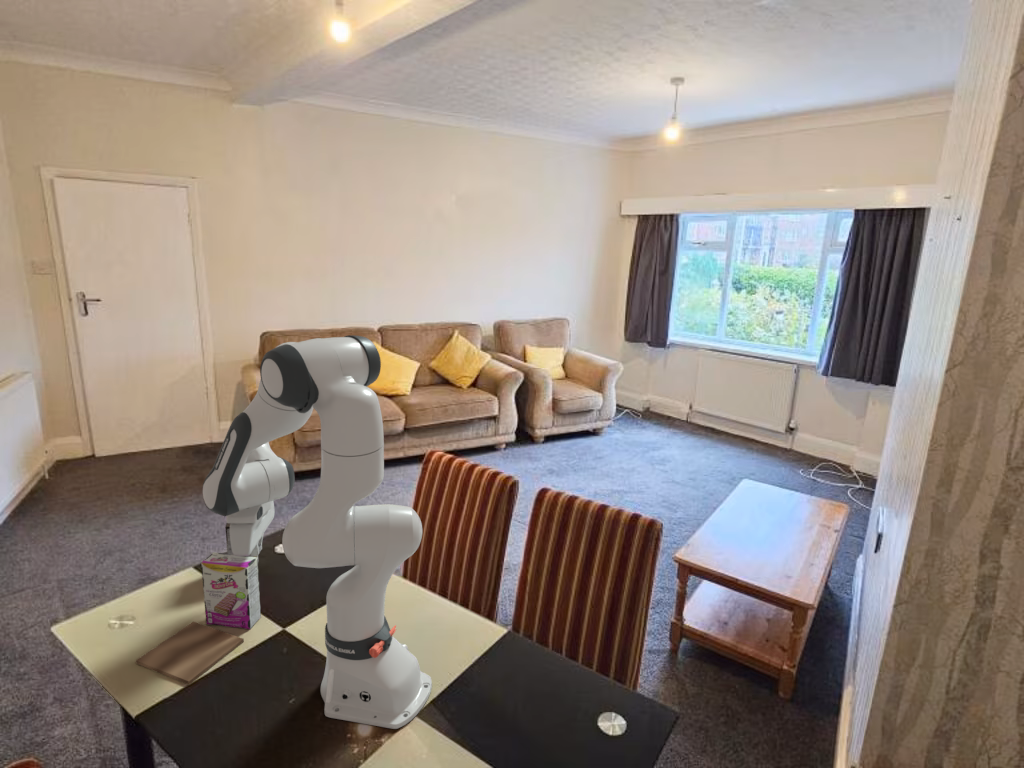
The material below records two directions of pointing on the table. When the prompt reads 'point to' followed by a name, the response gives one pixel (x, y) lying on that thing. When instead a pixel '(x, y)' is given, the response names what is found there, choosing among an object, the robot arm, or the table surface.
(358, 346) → the robot arm
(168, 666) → the board
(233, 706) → the table surface
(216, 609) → the candy bar box
